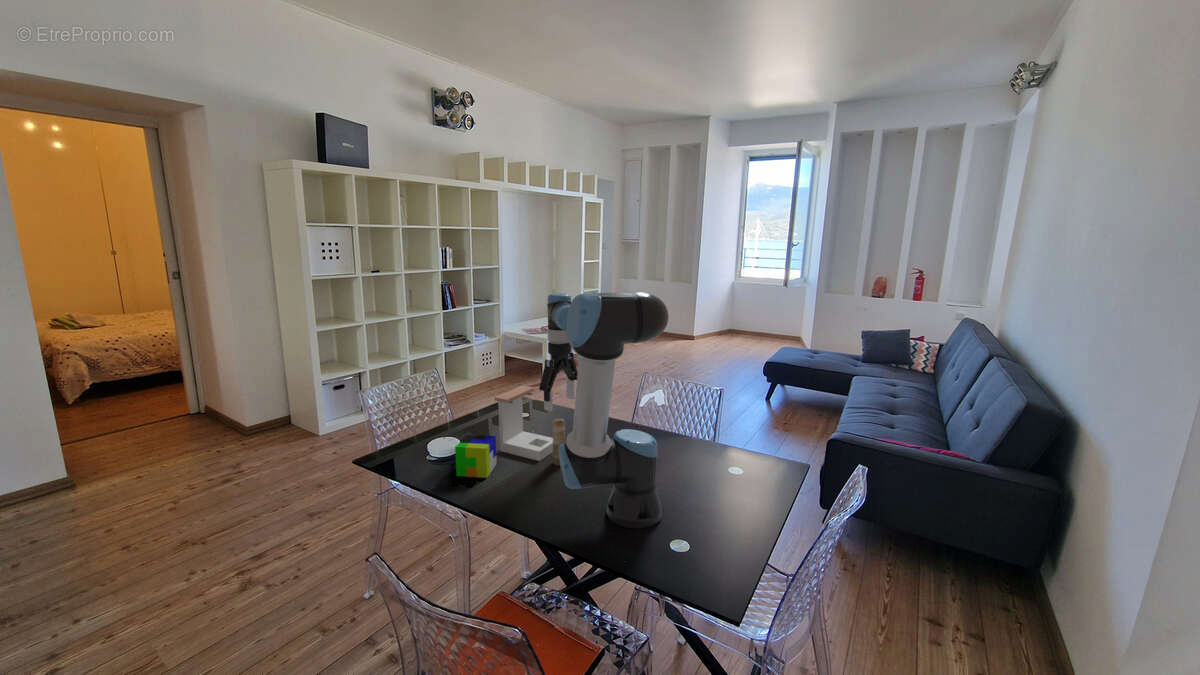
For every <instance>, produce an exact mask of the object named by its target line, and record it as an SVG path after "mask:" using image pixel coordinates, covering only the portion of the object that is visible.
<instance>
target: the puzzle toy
mask: <svg viewBox="0 0 1200 675" xmlns="http://www.w3.org/2000/svg"><path fill="white" fill-rule="evenodd" d="M496 437H497V436H496V435H483V434H482V435H481V434H479V435H478V434H466V435H465V436H464V437H463V438H462V439H461V440H460V441H459V442H458V443H457V444H456V445H455V447H454V450H455V452H454V454H455V470H456V472H455V473H456V477H465V478H466V477H467V478H481V479H482V478H483V479H487V478H488V477H489V476H490V474H491V472H493V470H494V468H495V467H496V465H497V438H496Z"/></svg>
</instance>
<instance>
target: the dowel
mask: <svg viewBox="0 0 1200 675" xmlns="http://www.w3.org/2000/svg"><path fill="white" fill-rule="evenodd" d="M565 424H566V420H565V419H563V418H555V419H553V420H552V438H553V452H552V464H553V465H554V466H560V461H559V453H558V447H559V445H561V444H563V443H565V444H566V439H565V438H566V430H565V429H566V425H565Z"/></svg>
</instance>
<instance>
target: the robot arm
mask: <svg viewBox="0 0 1200 675" xmlns="http://www.w3.org/2000/svg"><path fill="white" fill-rule="evenodd" d="M546 306H547V341H548V343H547V353H548V354H549V355H550V356H551V357H550V359H544V367H543V372H542V376H541V381H540V384H539V386H538V387H539V388H538V389H539V391H542V392H543V401H544V402H543V405H544V406H543V407H544V408H543V410H544V411H549V412H552V411H553V409H554V408H553V407H554V404H553V402H554V401H553V400H554V398H553V393H554V391H553V390H552V388H553V386H554V383H555V380H556V378H557V376H558V374H559V373H560V372H561V371H563V372H564V374H565V376H566V377H567V379H566V398H567V399H570V400H574V411H573V412H574V413H573V423H572V424H573V426H572V431H571V432H569V433H568V434H567V436H566V439H565V443H563V444H561V445H559V447H558V453H559V461H560V465H559V466H560V470H561V476H562V479H563V483H564V485H565V486H566V487H567V489H570V490H579V489H587V488H592V487H593V488H594V487H600V486H607V485H613V488H612V490H611V493H610V495H609V499H608V502H607V504H606V514H607V517H608V519H609V520H610V521H612V522H613V523H614V524H616V525H618V526H620V527H623V528H628V529H638V530H639V529H645V528H650V527H652V526H654V525H656V524H658V522H660V521H661V519H662V513H663V512H662V510H663V508H662V503H661V500H660V496H659V494H658V491H657V478H658V476H657V474H658V472H657V471H658V456H659V453H658V442H657V440H656V438H654V436H653V435H651V434H649V433H647V432H644V431H641V430H637V429H632V428H631V429H629V428H625V429H620V430H617V431H616V432H615V433H614V435H613V438H610V436H609V435H608V433H607V432H608V424H609V417H610V408H611V399H612V391H613V384H614V383H613V382H614V373H615V369H616V368H615V366H616V361H617V360H618V359H619V358H620V357H621V356H622V355H623V354H624V347H625V345H626V344H640V343H645V342H649V341H652V340H654V339H656V338H658V336H660V335H661V334H662V333H663V332H664V331H665V329H666V327H667V326H668V323H669V311H668V308H667V306H666V304H665V302H664V301H663V300H661V299H660V298H659V297H658V296H656V295H653V294H651V293H648V292H643V291H642V292H641V291H633V292H632V291H631V292H629V291H627V292H626V291H625V292H598V291H593V292H590V293H589V292H588V293H587V292H586V293H579V294H578V295H576V296H575V297H574V298H573V299H572V297H571V294H569V293H563V292H562V293H561V292H560V293H559V292H556V293H549V294H548V296H547V303H546ZM572 347H573V351H574V352H572ZM574 354H576V355H577V356H578V361H577V362H578V365H577V364H576V361H575V357H574V356H575V355H574ZM576 365H577V366H576ZM575 381H576V387H575Z"/></svg>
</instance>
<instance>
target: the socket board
mask: <svg viewBox="0 0 1200 675" xmlns="http://www.w3.org/2000/svg"><path fill="white" fill-rule="evenodd" d="M499 451H500V452H502V453H506V454H510V455H515V456H518V457H522V458H526V459H529V460H530V459H531V460H534V461H538V462H540V461H542V460H543V459H545V458H547V456H549V455H550V454H551V455H552V454H553V437H550V436H545V435H543V434H542V435H541V434H538V433H533V432H532V433H531V432H527V431H525V430H523V432H521V433H519V434H518V435H516V436H514V437H512V438H511V439H509V440H507V441H505V442H503V443H502V442H500V441H499Z"/></svg>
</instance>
